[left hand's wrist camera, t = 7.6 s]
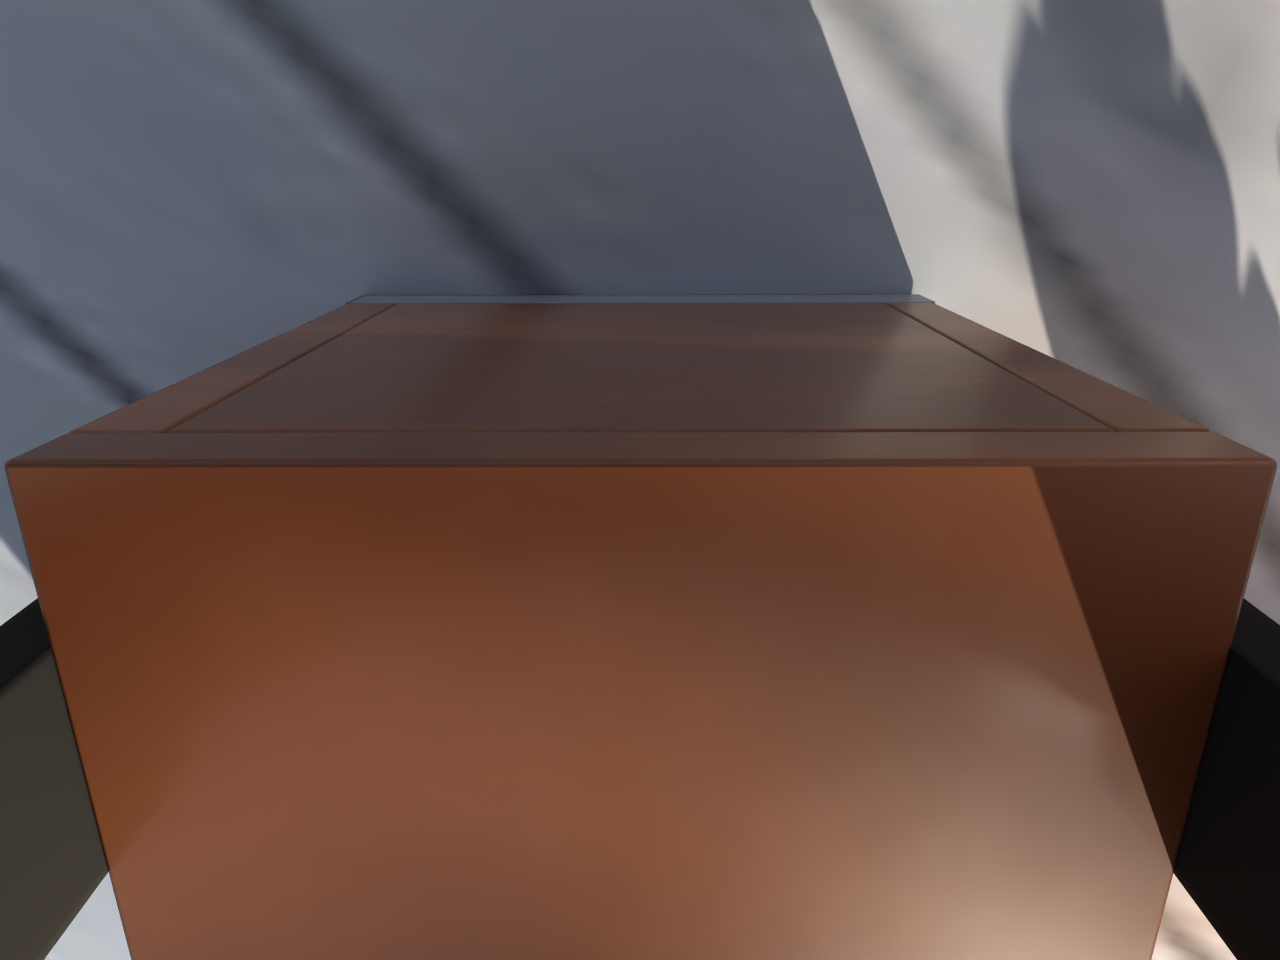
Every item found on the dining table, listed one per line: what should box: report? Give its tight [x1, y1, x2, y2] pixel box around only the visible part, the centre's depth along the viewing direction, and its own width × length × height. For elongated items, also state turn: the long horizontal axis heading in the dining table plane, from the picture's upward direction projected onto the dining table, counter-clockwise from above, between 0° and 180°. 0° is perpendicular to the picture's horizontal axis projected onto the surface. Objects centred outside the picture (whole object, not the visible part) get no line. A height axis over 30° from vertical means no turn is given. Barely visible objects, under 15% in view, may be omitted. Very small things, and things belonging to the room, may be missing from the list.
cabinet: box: [5, 295, 1277, 960], centre depth 15 cm, size 16×11×11 cm
